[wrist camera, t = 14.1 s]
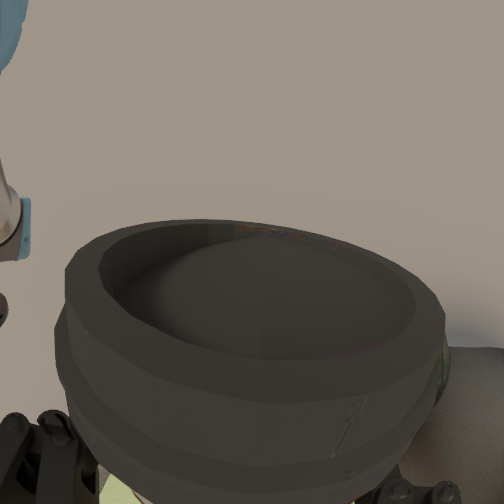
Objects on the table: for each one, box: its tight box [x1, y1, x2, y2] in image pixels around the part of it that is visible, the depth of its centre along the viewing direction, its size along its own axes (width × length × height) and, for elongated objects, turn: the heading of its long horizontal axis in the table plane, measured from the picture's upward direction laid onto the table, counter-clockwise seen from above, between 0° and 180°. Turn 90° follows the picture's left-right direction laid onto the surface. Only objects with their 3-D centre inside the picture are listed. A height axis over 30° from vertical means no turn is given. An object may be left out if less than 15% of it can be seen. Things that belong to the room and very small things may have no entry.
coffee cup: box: [54, 219, 445, 504], centre depth 8 cm, size 8×8×15 cm
